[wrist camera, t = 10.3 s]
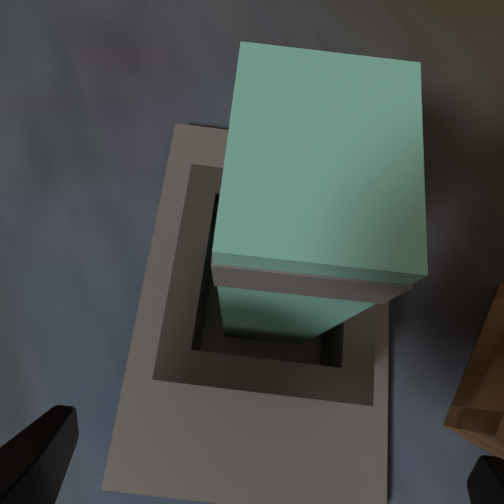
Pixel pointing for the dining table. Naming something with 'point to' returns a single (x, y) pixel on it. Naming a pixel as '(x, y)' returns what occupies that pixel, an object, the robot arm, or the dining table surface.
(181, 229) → the port board
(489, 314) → the holster
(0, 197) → the dining table surface
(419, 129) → the plug
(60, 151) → the dining table surface
